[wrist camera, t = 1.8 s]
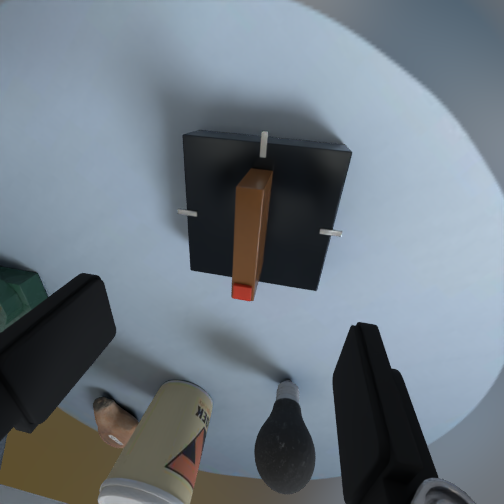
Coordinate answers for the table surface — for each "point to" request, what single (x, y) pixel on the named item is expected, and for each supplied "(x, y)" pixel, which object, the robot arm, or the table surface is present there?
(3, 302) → the button box
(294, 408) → the light bulb
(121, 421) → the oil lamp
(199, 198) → the clamp block
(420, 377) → the table surface
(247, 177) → the wooden rectangular beam
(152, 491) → the coffee cup
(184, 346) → the table surface
